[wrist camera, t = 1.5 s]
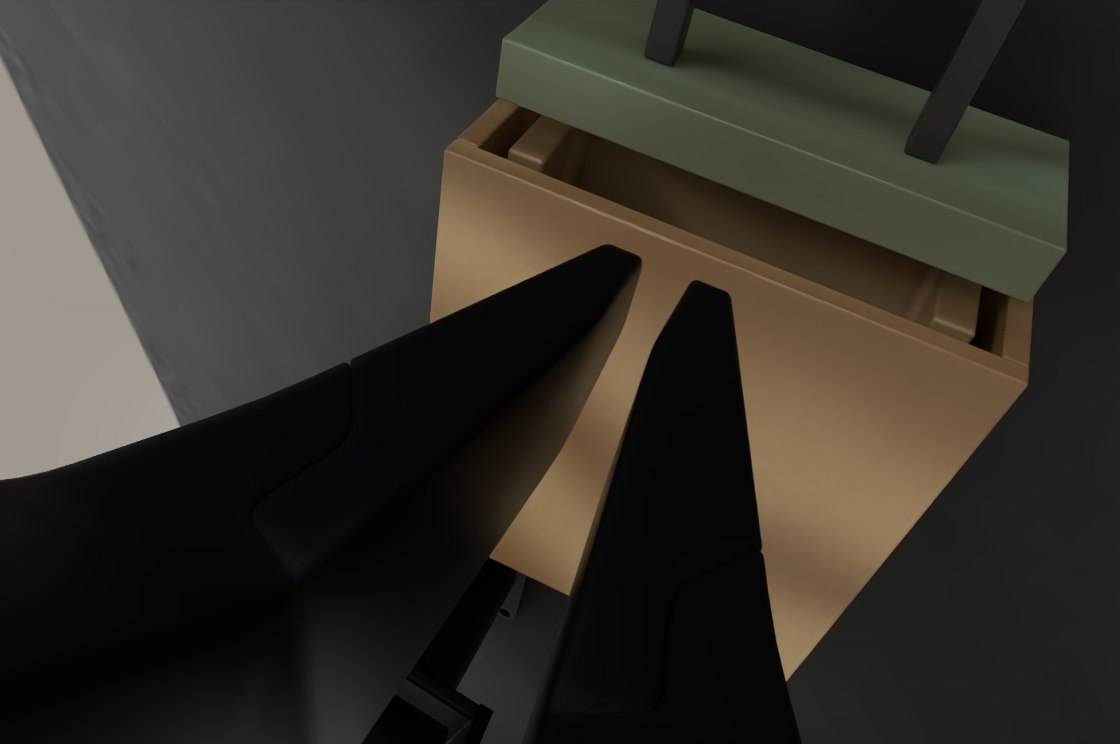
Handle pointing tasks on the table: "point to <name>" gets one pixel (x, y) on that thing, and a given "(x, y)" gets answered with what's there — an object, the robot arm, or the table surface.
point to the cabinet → (767, 379)
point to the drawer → (797, 151)
